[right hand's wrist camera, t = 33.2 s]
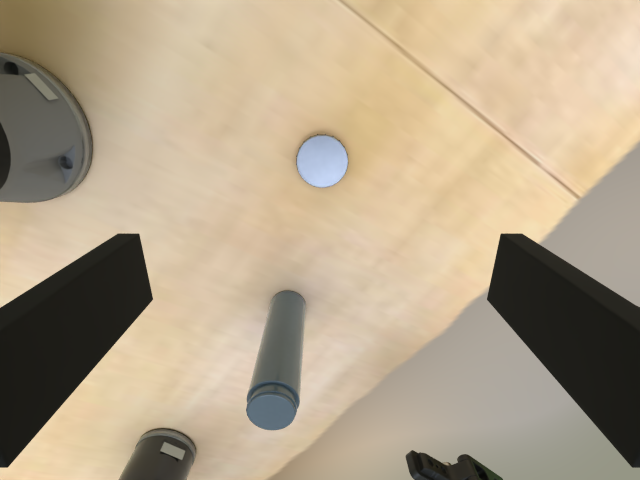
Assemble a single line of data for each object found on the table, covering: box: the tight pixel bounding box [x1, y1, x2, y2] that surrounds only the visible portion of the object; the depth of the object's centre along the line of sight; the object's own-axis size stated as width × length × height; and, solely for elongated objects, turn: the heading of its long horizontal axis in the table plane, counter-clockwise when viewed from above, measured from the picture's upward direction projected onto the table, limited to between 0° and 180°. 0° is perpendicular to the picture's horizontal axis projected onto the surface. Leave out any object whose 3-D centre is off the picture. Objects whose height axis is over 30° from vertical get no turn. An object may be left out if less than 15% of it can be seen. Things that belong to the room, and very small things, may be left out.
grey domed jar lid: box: [296, 134, 348, 188], centre depth 38 cm, size 6×6×2 cm
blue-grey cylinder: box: [246, 291, 306, 430], centre depth 38 cm, size 5×5×17 cm
